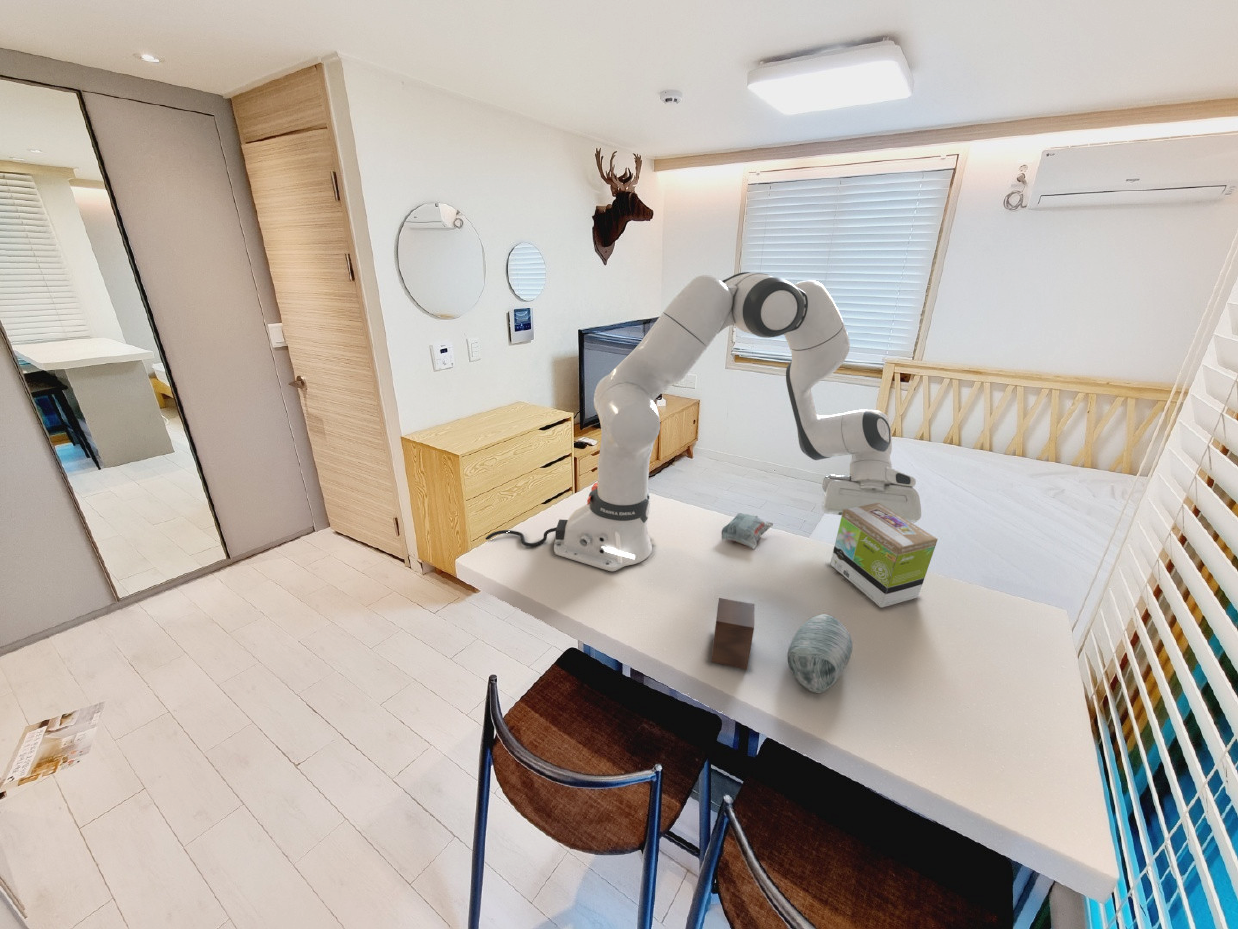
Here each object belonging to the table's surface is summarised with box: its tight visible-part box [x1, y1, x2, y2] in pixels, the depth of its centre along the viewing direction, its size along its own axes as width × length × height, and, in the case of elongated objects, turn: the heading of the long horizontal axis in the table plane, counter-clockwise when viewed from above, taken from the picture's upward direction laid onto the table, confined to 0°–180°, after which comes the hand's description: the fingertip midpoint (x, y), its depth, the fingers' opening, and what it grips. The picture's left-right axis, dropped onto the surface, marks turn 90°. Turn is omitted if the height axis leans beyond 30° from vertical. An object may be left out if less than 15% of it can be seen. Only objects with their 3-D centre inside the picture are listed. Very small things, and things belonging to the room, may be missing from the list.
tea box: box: [830, 503, 939, 608], centre depth 103 cm, size 15×10×15 cm, turn 20°
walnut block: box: [710, 597, 755, 670], centre depth 85 cm, size 6×6×9 cm
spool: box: [786, 613, 854, 694], centre depth 83 cm, size 14×10×10 cm
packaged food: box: [721, 512, 774, 550], centre depth 119 cm, size 9×12×5 cm
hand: (869, 537), depth 112 cm, fingers closed
